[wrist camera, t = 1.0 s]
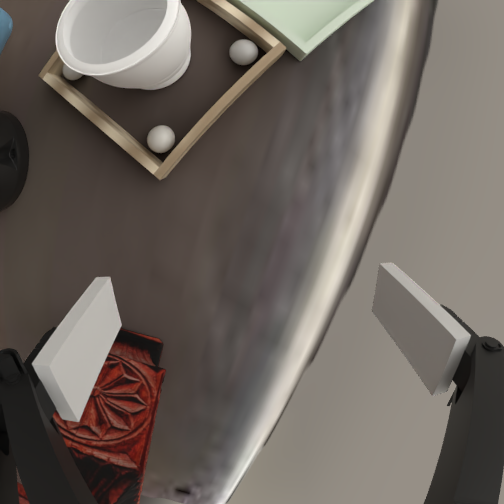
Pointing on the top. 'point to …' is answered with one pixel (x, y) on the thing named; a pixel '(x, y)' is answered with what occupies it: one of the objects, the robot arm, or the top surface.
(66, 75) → the white ball
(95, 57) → the jar
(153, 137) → the pebble
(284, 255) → the top surface
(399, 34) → the top surface
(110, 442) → the vase
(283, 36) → the bin
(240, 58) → the pebble
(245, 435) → the top surface
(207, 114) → the bin
